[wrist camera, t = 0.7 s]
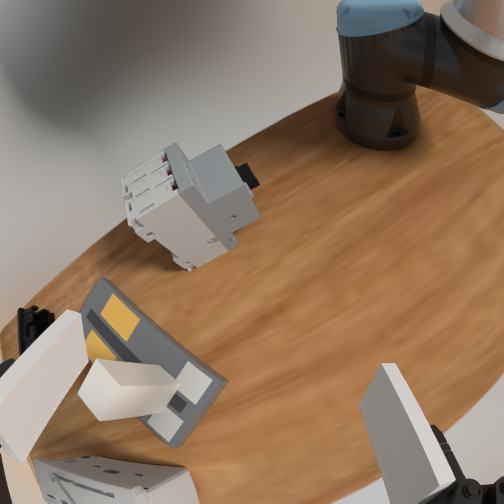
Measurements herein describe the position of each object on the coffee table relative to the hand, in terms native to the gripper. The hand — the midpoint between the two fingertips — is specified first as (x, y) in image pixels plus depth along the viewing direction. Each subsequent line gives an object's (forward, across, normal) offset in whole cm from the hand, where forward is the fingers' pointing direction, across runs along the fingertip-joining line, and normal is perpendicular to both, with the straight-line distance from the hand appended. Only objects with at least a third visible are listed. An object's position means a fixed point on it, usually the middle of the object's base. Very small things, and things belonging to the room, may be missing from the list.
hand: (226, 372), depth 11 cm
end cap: (+28, -35, -29) cm, 53 cm away
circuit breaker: (+32, -3, -2) cm, 33 cm away
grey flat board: (+22, -12, -21) cm, 33 cm away
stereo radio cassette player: (+9, -10, -36) cm, 39 cm away
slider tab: (+17, -7, -20) cm, 27 cm away
